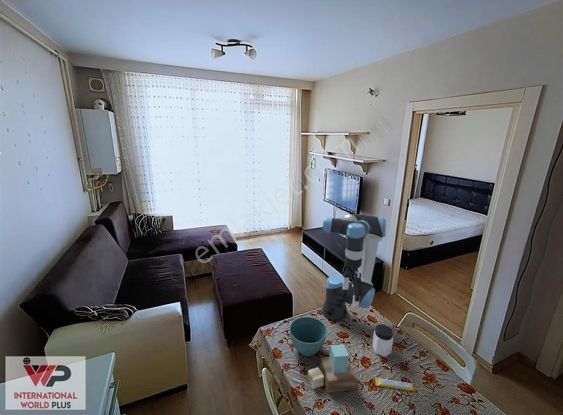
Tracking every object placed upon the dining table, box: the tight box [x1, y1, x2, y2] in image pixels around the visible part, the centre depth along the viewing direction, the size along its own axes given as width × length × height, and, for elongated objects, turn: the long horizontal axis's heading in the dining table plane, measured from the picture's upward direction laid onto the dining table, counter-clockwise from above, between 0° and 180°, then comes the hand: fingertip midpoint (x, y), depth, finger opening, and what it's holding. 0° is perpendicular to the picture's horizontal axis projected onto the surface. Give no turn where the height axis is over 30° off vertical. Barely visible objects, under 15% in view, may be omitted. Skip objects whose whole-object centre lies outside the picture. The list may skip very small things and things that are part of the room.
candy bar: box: [374, 376, 417, 393], centre depth 111 cm, size 17×4×2 cm, turn 80°
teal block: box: [329, 344, 350, 374], centre depth 111 cm, size 6×6×9 cm
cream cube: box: [307, 366, 325, 390], centre depth 111 cm, size 5×5×5 cm
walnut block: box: [320, 355, 357, 393], centre depth 113 cm, size 12×12×6 cm
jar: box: [371, 323, 394, 358], centre depth 128 cm, size 9×8×12 cm
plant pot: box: [289, 316, 328, 357], centre depth 128 cm, size 18×18×12 cm
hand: (350, 297), depth 124 cm, fingers open, 13 cm apart
